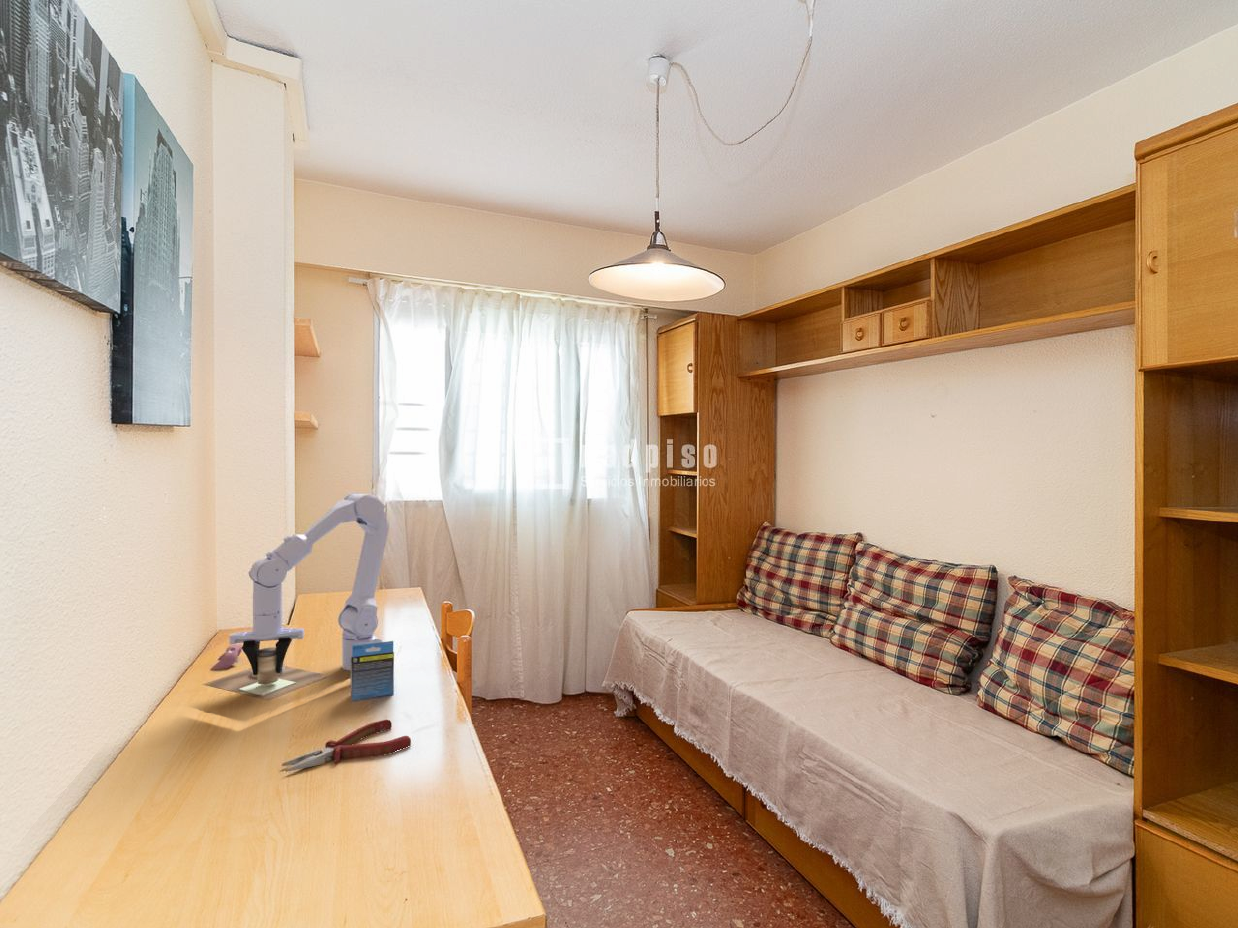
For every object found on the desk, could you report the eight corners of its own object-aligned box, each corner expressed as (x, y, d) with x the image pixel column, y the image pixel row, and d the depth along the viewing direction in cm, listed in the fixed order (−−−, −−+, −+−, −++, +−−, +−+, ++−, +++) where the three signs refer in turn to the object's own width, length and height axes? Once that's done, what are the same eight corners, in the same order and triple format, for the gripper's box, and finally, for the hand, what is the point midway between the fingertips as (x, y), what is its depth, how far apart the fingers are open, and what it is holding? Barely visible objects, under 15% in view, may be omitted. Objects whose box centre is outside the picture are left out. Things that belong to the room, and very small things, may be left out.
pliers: (275, 761, 108) (275, 747, 108) (389, 728, 121) (389, 715, 121) (292, 789, 99) (292, 773, 99) (413, 750, 113) (413, 736, 112)
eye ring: (291, 670, 148) (291, 665, 148) (264, 680, 141) (264, 674, 141) (271, 666, 151) (271, 661, 151) (244, 675, 144) (244, 670, 144)
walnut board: (331, 681, 145) (331, 675, 145) (268, 706, 130) (268, 699, 130) (267, 668, 154) (267, 662, 154) (202, 690, 139) (202, 684, 139)
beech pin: (282, 679, 138) (282, 648, 138) (265, 685, 135) (265, 653, 135) (269, 676, 140) (269, 646, 140) (253, 682, 136) (253, 651, 136)
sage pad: (296, 683, 139) (296, 682, 139) (263, 696, 132) (263, 694, 132) (272, 678, 143) (272, 676, 143) (238, 690, 135) (238, 688, 135)
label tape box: (392, 689, 140) (392, 635, 140) (394, 695, 137) (394, 640, 137) (350, 695, 137) (350, 640, 137) (351, 701, 133) (351, 645, 133)
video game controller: (226, 681, 149) (241, 654, 150) (207, 675, 147) (222, 647, 149) (234, 668, 158) (248, 642, 159) (216, 662, 157) (230, 636, 158)
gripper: (306, 605, 143) (307, 663, 143) (236, 610, 139) (236, 669, 139) (300, 613, 136) (300, 673, 137) (226, 618, 132) (226, 680, 132)
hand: (267, 672), depth 137 cm, fingers closed on beech pin, 4 cm apart
